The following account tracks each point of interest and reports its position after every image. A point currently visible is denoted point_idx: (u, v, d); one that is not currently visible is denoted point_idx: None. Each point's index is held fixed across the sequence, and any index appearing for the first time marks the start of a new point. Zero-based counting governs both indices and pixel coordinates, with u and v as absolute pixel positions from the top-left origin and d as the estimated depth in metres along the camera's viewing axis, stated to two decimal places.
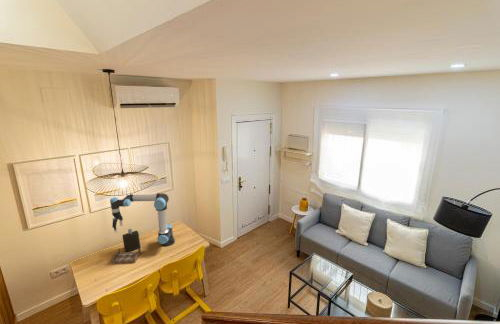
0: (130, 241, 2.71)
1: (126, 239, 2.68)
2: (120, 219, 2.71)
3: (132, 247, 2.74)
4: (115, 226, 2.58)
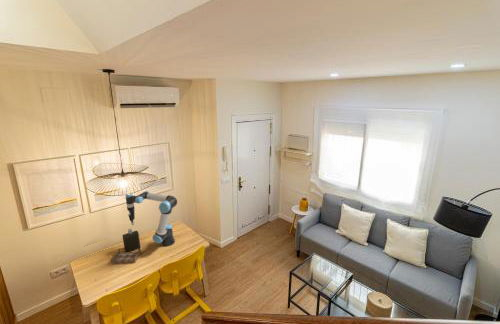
0: (130, 241, 2.71)
1: (126, 239, 2.68)
2: None
3: (132, 247, 2.74)
4: (132, 220, 2.78)
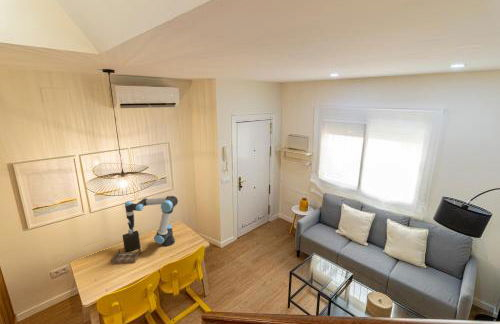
0: (130, 241, 2.71)
1: (126, 239, 2.67)
2: (132, 225, 2.78)
3: (132, 247, 2.73)
4: (132, 228, 2.76)
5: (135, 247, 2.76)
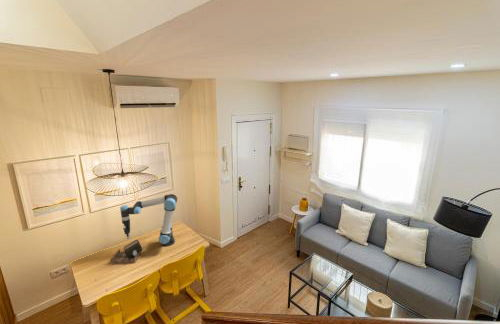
0: None
1: None
2: (128, 230, 2.67)
3: None
4: (128, 233, 2.65)
5: None
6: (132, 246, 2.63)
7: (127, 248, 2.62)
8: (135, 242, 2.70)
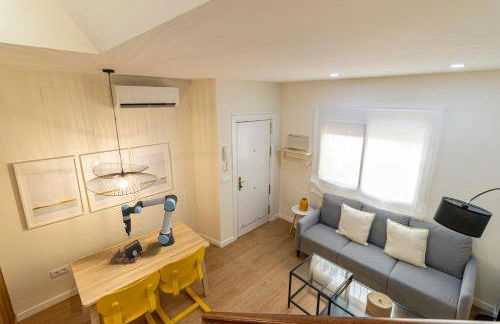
0: None
1: None
2: (129, 229, 2.69)
3: None
4: (129, 232, 2.67)
5: None
6: (132, 246, 2.63)
7: (127, 248, 2.62)
8: (135, 242, 2.70)
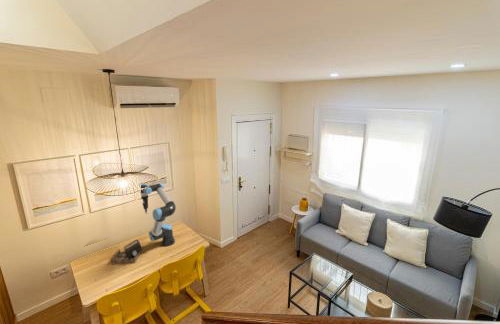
0: None
1: None
2: None
3: None
4: (146, 208, 2.86)
5: None
6: (132, 246, 2.63)
7: (127, 248, 2.62)
8: (135, 242, 2.70)
